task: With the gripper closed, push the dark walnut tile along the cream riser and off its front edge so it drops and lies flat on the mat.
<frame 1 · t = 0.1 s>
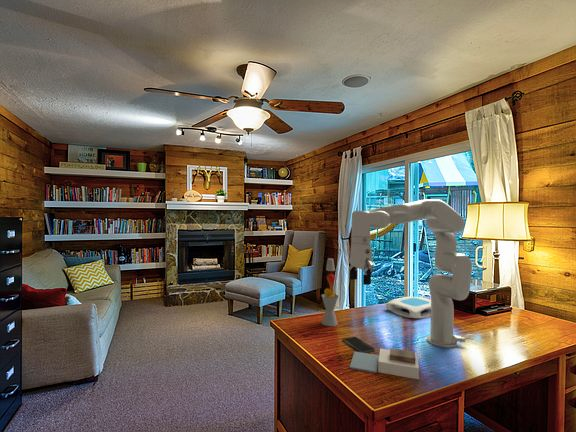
hand: (360, 281, 127), 31 cm above the table, tool pointing down, fingers open, 9 cm apart
riser: (398, 368, 118), on the table
phone: (358, 346, 138), on the table
mat: (364, 362, 122), on the table
lava lamp: (329, 323, 165), on the table
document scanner: (414, 312, 188), on the table
walnut tile: (402, 358, 117), point 4 cm above the table, touching riser
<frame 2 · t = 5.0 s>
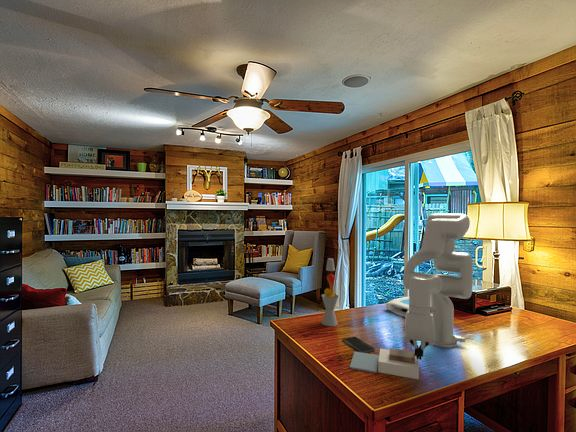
hand: (418, 358, 115), 5 cm above the table, tool pointing down, fingers closed
walnut tile: (401, 358, 117), point 4 cm above the table, touching gripper, riser
everything else where it was.
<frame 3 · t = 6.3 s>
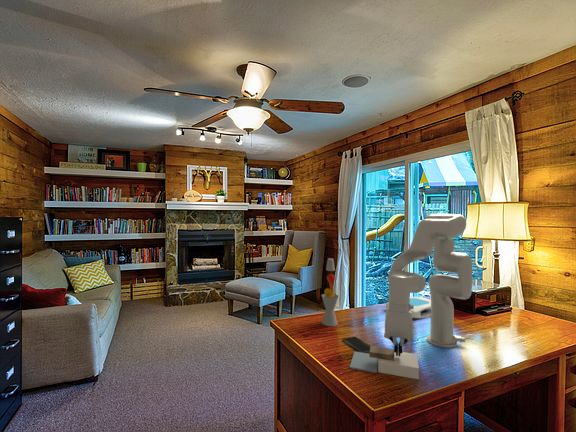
hand: (398, 354, 118), 5 cm above the table, tool pointing down, fingers closed
walnut tile: (382, 355, 119), point 4 cm above the table, touching gripper, riser
everything else where it was.
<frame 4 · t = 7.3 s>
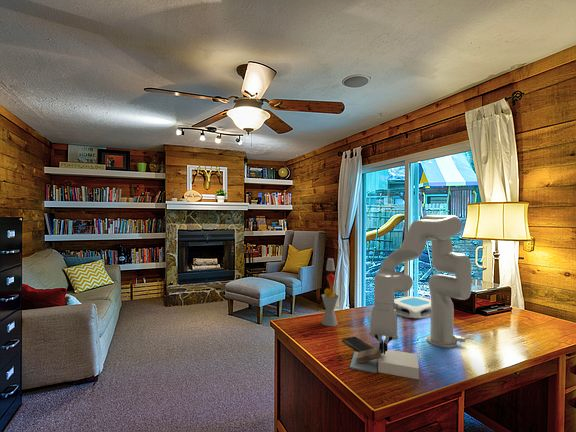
hand: (383, 352, 120), 5 cm above the table, tool pointing down, fingers closed
walnut tile: (370, 357, 121), point 2 cm above the table, tilted 25°, touching gripper, mat
everything else where it was.
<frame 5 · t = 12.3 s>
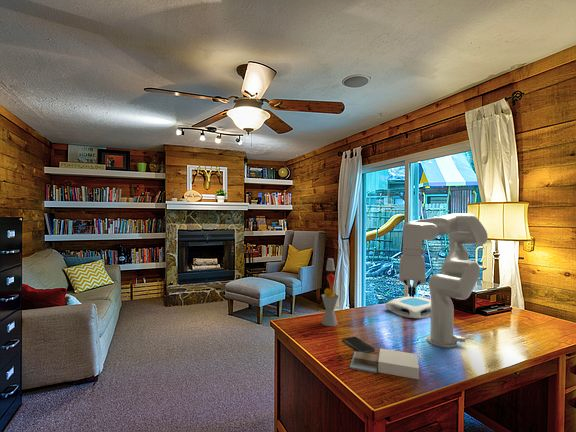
hand: (411, 296, 128), 25 cm above the table, tool pointing down, fingers closed
walnut tile: (366, 361, 122), point 1 cm above the table, touching mat
everything else where it was.
at the end: walnut tile inside the target area on the mat (1.1 cm from its centre), point 0.6 cm above the mat's base; walnut tile tilted 0°; walnut tile touching mat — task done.
